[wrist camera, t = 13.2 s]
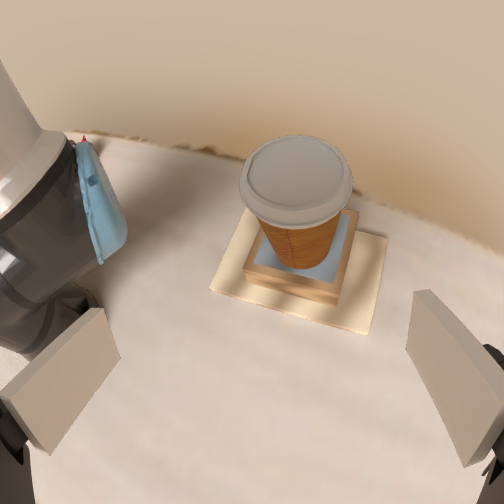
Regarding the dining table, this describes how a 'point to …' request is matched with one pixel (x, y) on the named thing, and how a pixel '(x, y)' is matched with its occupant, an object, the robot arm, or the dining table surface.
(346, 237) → the stand
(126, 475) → the dining table surface
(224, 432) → the dining table surface
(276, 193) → the disposable coffee cup
